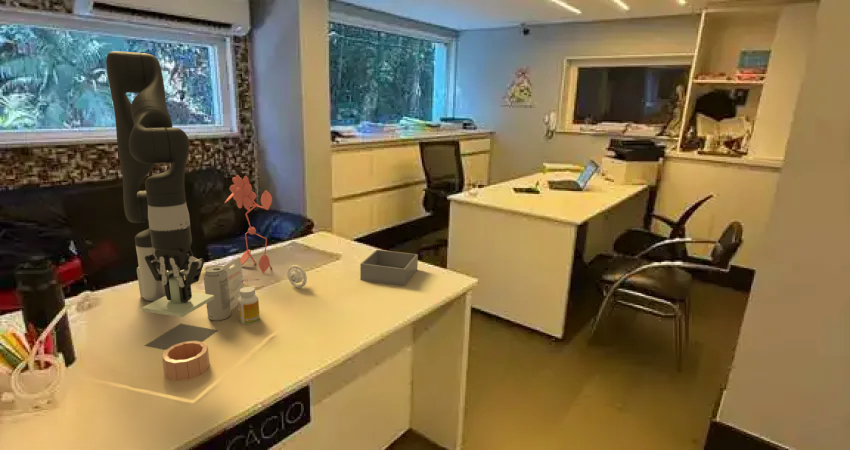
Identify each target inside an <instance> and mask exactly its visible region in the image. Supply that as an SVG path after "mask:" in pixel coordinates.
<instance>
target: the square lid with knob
mask: <svg viewBox="0 0 850 450" xmlns="http://www.w3.org/2000/svg"><path fill="white" fill-rule="evenodd" d="M169 286H170V294H171V300H167V297H166V296H164V297H162V298H160V299H158V300H156V301H151V302H150V303H148V304H146V305H144V306H142V307H141V311H142V312H146V313H153V314H159V315H165V316H170V317H171V316H172V317H177V318H183V317H186V316H187V315H190V313H192V312H195V310H198V309H199V308H202V306H204V305H207V304H206V303H208V302H209V301H211V300H213V299H214V295H210V294H205V293H202V292H196V291H195V292H194V291H191V294H192V297H191V299H190V300H189V301H187V302H185V303H184V302H181V299H180V291H179V287H180V285H179V282H178V278H177V277H175V276H174V277H171V278H169Z"/></svg>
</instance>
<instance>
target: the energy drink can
mask: <svg viewBox="0 0 850 450" xmlns="http://www.w3.org/2000/svg"><path fill="white" fill-rule="evenodd" d="M203 282H204V283H203V284H204V294H210V295H214V299H213V300H211V301H209V302H208V303H206V304H205V305H206V310H207V312H206V313H207V318H208V319H209V320H212V321H215V322H216V321H217V322H218V321H223V320H226V319H228V318H229V317H230V316H231V314H232V310H231V308H230V297H229V287H228V276H227V272H226V271H225V269H224V265H212V266H208V267H206V268H205V269H204V274H203Z"/></svg>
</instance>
